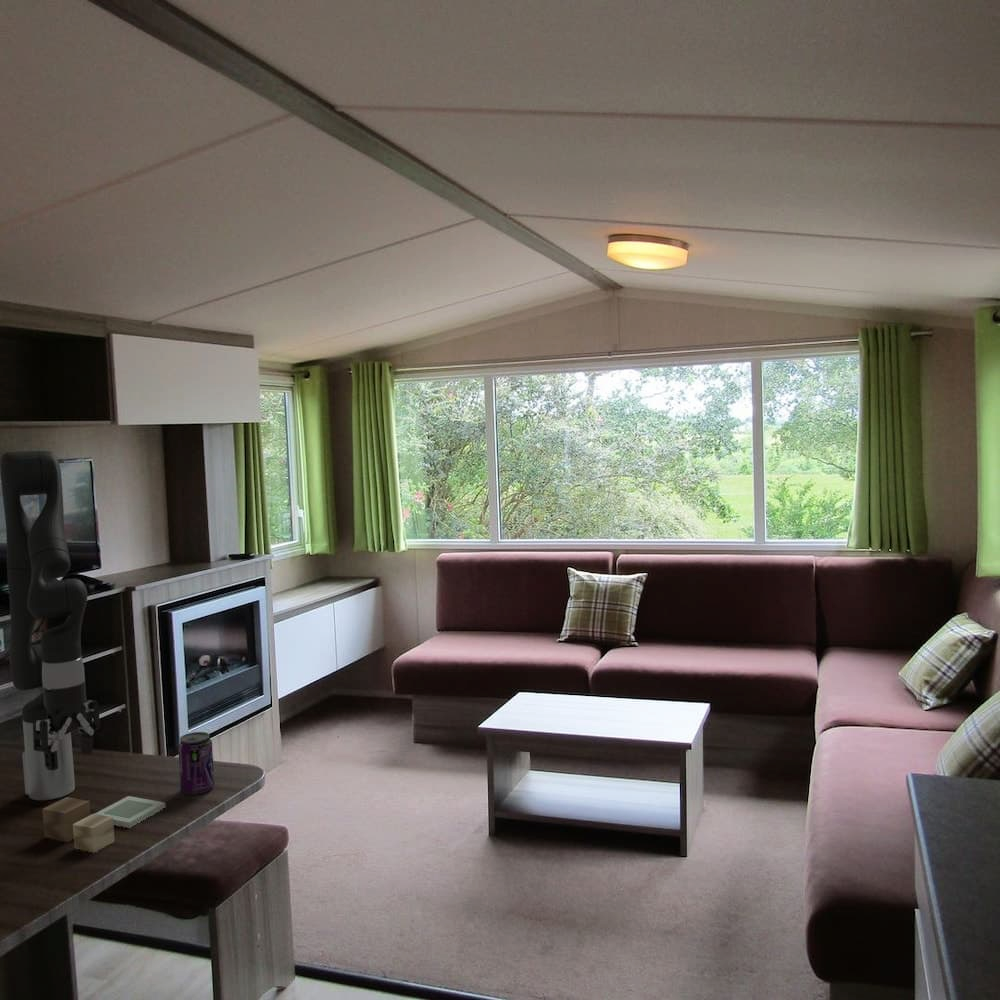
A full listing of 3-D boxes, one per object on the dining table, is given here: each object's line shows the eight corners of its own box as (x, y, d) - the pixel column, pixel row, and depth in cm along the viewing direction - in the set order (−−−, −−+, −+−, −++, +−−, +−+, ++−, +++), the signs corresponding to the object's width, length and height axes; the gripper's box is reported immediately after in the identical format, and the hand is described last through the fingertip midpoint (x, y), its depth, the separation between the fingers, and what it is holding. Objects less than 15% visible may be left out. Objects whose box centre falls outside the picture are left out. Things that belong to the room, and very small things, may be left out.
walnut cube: (44, 838, 185) (42, 809, 185) (69, 825, 191) (67, 797, 190) (67, 843, 183) (65, 813, 182) (91, 830, 189) (89, 801, 188)
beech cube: (74, 849, 180) (72, 824, 180) (95, 838, 185) (93, 813, 184) (94, 853, 178) (92, 828, 178) (114, 842, 183) (112, 817, 182)
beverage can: (204, 797, 203) (201, 743, 202) (174, 795, 204) (171, 741, 203) (220, 784, 210) (217, 731, 208) (191, 782, 211) (188, 730, 210)
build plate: (92, 820, 192) (91, 814, 192) (128, 801, 202) (128, 795, 201) (129, 828, 189) (129, 822, 188) (165, 808, 198) (165, 802, 198)
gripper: (77, 669, 192) (83, 746, 194) (19, 690, 179) (25, 772, 181) (106, 672, 189) (111, 751, 191) (48, 693, 176) (55, 777, 178)
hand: (70, 761), depth 186 cm, fingers open, 8 cm apart
